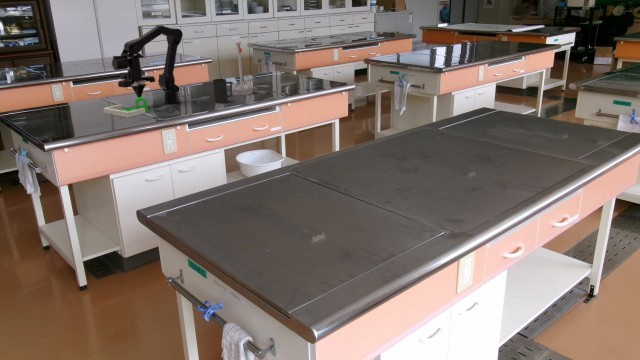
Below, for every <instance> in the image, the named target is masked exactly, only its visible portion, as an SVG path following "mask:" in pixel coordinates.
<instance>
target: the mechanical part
mask: <svg viewBox="0 0 640 360" xmlns="http://www.w3.org/2000/svg"><path fill="white" fill-rule="evenodd" d="M139 102H143V104H141V105H140V104H139ZM134 104H135V107H131V108H123V109H122V111H127V112H129V111H133V110H137V109H141V108H145V113H144V114H147V113H149V108H148V107H149V106H148V101H147V99H146V98H145V97H143V96H141V97H137V98H135V102H134Z"/></svg>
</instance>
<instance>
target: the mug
mask: <svg viewBox="0 0 640 360" xmlns="http://www.w3.org/2000/svg"><path fill="white" fill-rule="evenodd" d="M232 84H233V82H232V81H227V79H226V78H215V79H212V89H213V99H214V104H217V103H223V104H227V103H229V98H231V97H232V95H233V91H232ZM227 85H229V87H230V94H229V95H228V87H227Z"/></svg>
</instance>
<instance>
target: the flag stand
mask: <svg viewBox="0 0 640 360" xmlns="http://www.w3.org/2000/svg"><path fill="white" fill-rule="evenodd" d="M235 45H236V47H237V57H238V58H237V59H238V72H239V84H237V82H232V95H233V96H249V95H252V93H253V89H254V83H252V82H250V81H249V82H246V83H245V82H244V80H243V79H244V77H243V68H242V67H243V66H242V52H243V49H242V47H241V45H242V41H241V40H239V39H237V40H236V41H235Z"/></svg>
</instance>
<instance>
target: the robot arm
mask: <svg viewBox="0 0 640 360" xmlns="http://www.w3.org/2000/svg"><path fill="white" fill-rule="evenodd" d="M161 35H162V36H165V37H166V42H167V49H166V54H165V56H166V57H165V63H164V69H163V72H162V74H161V73H160V74H159V75H158V80H157V82H158V86H159V88H161V89H162V91H163V92H164V102H163V103H164V104H167V105H174V104H178V103H179V104H180V103H181V102H182V101H181V100H179V94H178V93H179V92H180V87H179V86H178V85H177V84H176V82H175V81H176V79H175V75H174V71H175V65H176V64H175V63H176V58H177V52H178V46H180V44H181V41H182V38H183V36H184V35H183V32H182V30H181V29H180V28H174V27H173V28H172V27H167V26H165V25H163V24H162V25H161V24H159V25H158V24H157V25H156V26H155V27H153V28H152V29H150V30H148V31H147V32H146V33H144V34H142V35H141V36H139V37H138V38H135V39H132V40H129V41H126V42H125V43H124V45H123V50H122V52H121V53H120V55H113V57H112V61H111V67H112V68H113V70H114V71H121V70H127V73H125V72H120V73H119V77H120V80H119V81H118V82H117V86H118V87H119V88H125V89H126V88H131V89H132V90H133V91H134V93H135V95H136V97H137V98H138V97H143V92H144V89H145V88H146V86H148V85H147V82H149V83H155V82H156V78H155V77H154V76H153V75H144V76H143V73H142V72H144V70H143V68H142V66H141V60H140V59H143V58H144V56H143V55H142V54H141V53H140V52H142V50H143V49H144V47H145V46H146V45H147V44H149V43H151V42H152V41H153V40H155V39H156V38H158V37H159V36H161ZM145 82H146V83H145Z"/></svg>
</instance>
